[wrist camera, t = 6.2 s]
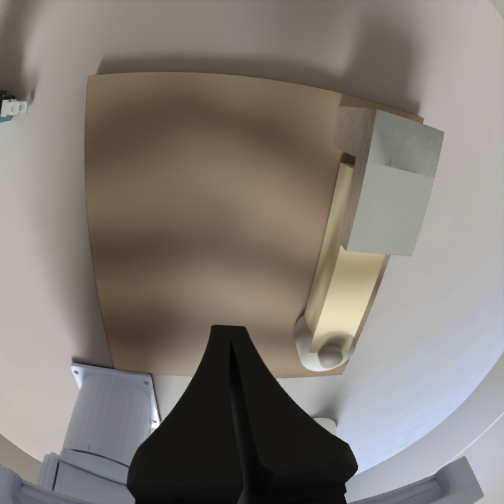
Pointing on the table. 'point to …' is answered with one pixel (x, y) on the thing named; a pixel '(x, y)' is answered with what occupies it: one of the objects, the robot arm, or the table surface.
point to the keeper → (385, 179)
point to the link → (336, 292)
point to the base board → (209, 211)
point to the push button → (10, 106)
